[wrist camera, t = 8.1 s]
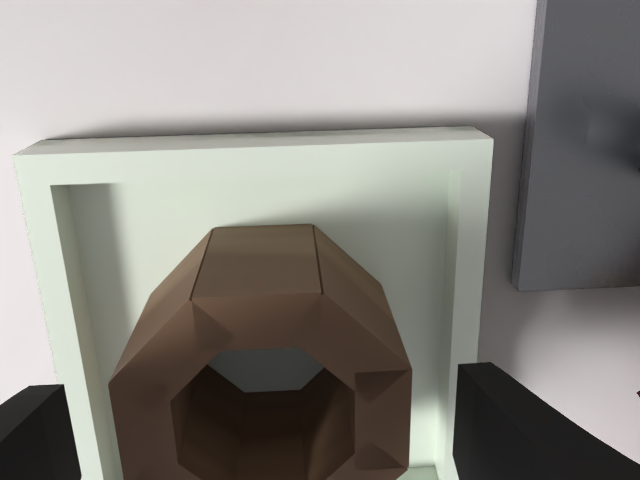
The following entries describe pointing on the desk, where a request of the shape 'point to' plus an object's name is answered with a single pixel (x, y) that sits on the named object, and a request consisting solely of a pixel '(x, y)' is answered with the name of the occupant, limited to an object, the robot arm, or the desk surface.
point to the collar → (264, 333)
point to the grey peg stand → (581, 149)
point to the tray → (256, 210)
